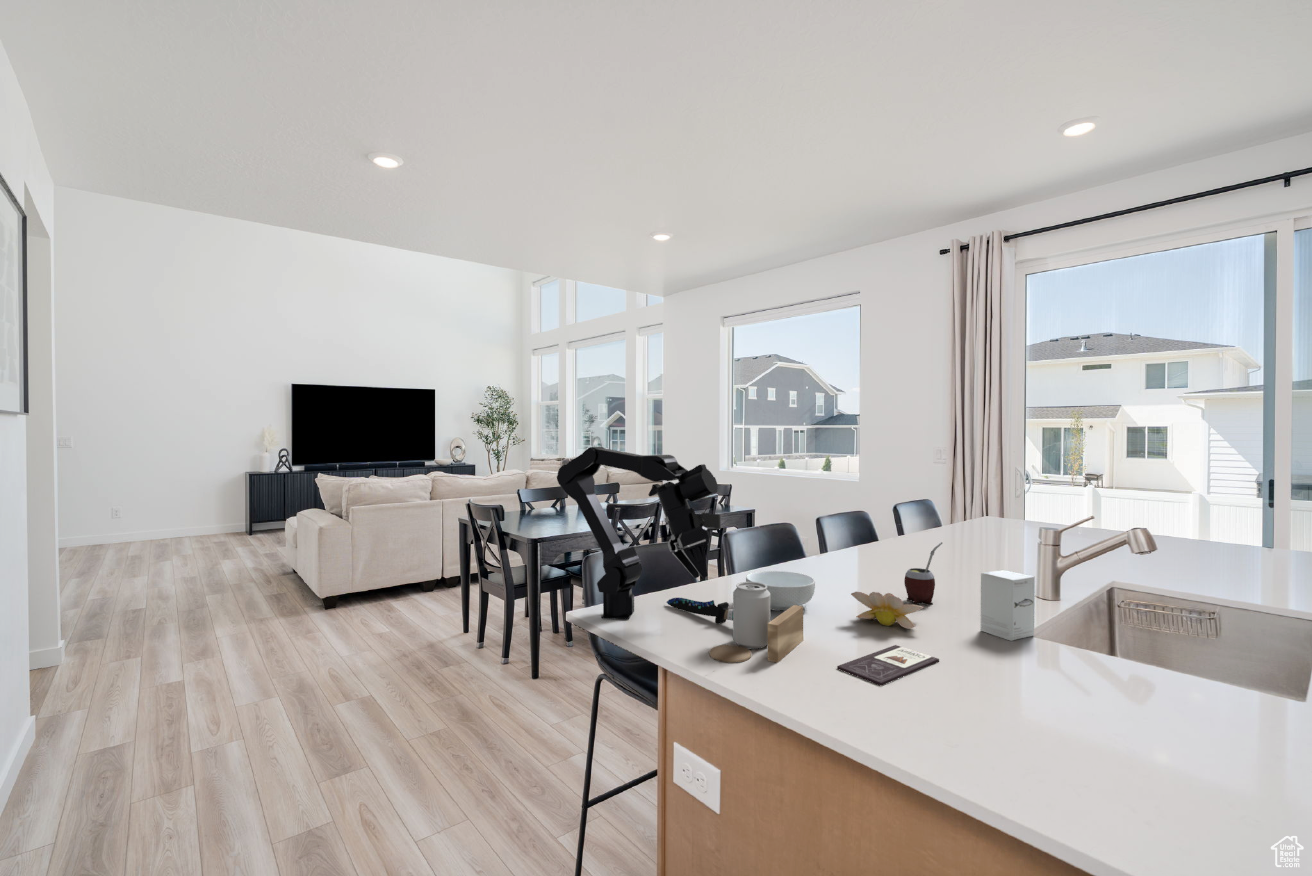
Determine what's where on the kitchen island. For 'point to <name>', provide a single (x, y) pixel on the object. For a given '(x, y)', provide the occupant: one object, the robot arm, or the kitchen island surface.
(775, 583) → the cereal bowl
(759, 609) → the can
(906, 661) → the chocolate bar
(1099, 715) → the kitchen island surface
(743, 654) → the coaster
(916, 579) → the mate gourd
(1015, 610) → the supplement box
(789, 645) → the plinth board
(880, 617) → the decorative flower
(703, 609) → the knife
